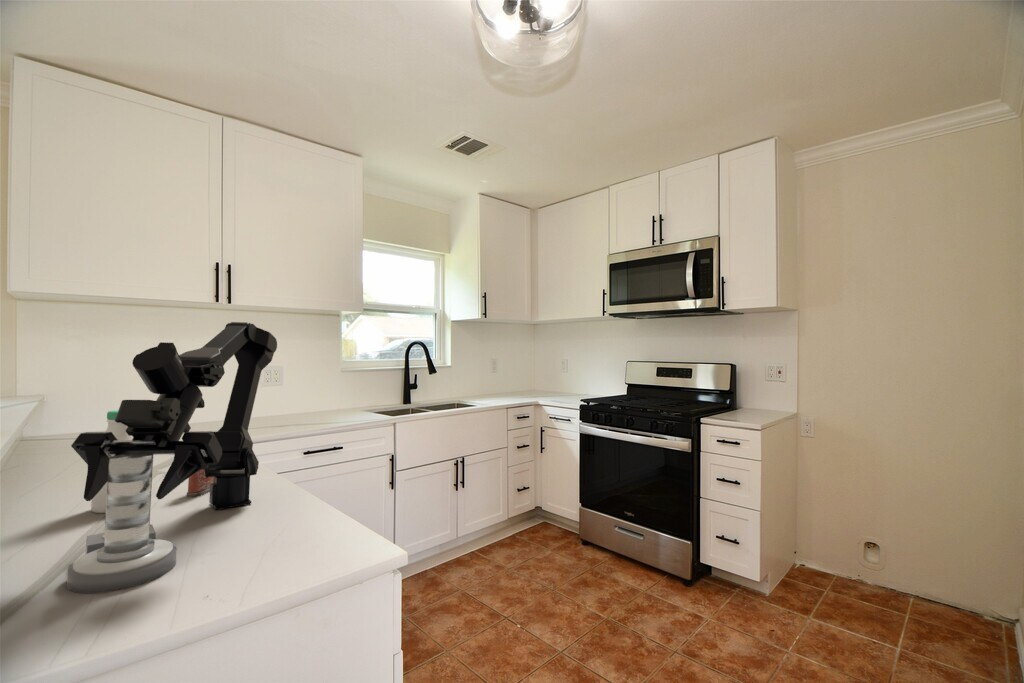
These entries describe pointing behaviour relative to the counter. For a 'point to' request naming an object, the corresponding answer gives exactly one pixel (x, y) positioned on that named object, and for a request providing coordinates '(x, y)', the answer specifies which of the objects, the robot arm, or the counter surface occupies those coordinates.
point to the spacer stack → (128, 508)
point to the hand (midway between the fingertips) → (122, 498)
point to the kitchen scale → (119, 567)
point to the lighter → (199, 484)
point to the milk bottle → (101, 498)
